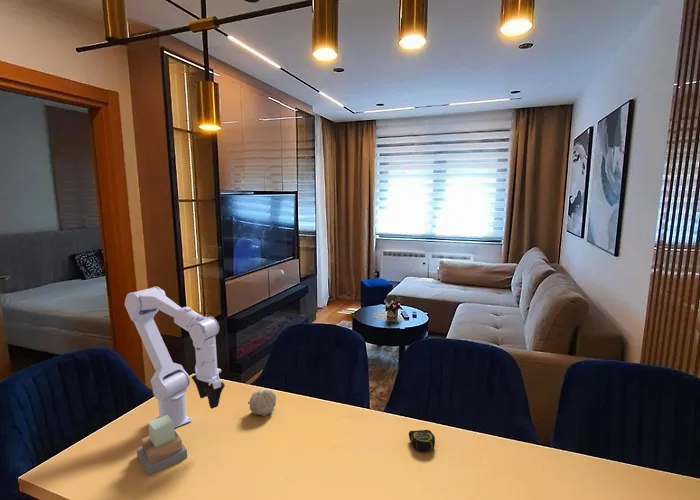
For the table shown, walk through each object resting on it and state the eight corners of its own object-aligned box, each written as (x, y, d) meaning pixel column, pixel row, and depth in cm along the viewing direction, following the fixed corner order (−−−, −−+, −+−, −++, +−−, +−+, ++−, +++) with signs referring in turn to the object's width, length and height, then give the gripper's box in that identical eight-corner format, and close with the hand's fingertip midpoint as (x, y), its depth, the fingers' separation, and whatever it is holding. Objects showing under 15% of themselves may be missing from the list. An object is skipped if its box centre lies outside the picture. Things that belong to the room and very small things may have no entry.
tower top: (142, 448, 103) (141, 438, 102) (172, 436, 108) (172, 426, 108) (150, 463, 97) (149, 453, 96) (182, 449, 102) (181, 440, 102)
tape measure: (430, 438, 111) (431, 427, 110) (437, 454, 104) (438, 442, 104) (408, 439, 110) (408, 428, 110) (413, 455, 104) (414, 443, 103)
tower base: (137, 458, 103) (136, 448, 103) (175, 442, 110) (174, 432, 110) (147, 477, 96) (147, 467, 96) (187, 459, 103) (186, 449, 102)
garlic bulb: (275, 417, 125) (284, 392, 124) (260, 426, 118) (269, 400, 117) (256, 402, 129) (264, 378, 128) (240, 410, 122) (249, 385, 121)
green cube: (149, 438, 102) (148, 422, 101) (168, 430, 106) (167, 414, 105) (155, 447, 99) (154, 430, 98) (175, 439, 102) (174, 422, 101)
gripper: (230, 362, 107) (232, 406, 109) (209, 348, 118) (212, 388, 119) (205, 370, 102) (208, 416, 104) (186, 354, 113) (189, 396, 115)
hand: (209, 401), depth 112 cm, fingers open, 7 cm apart
